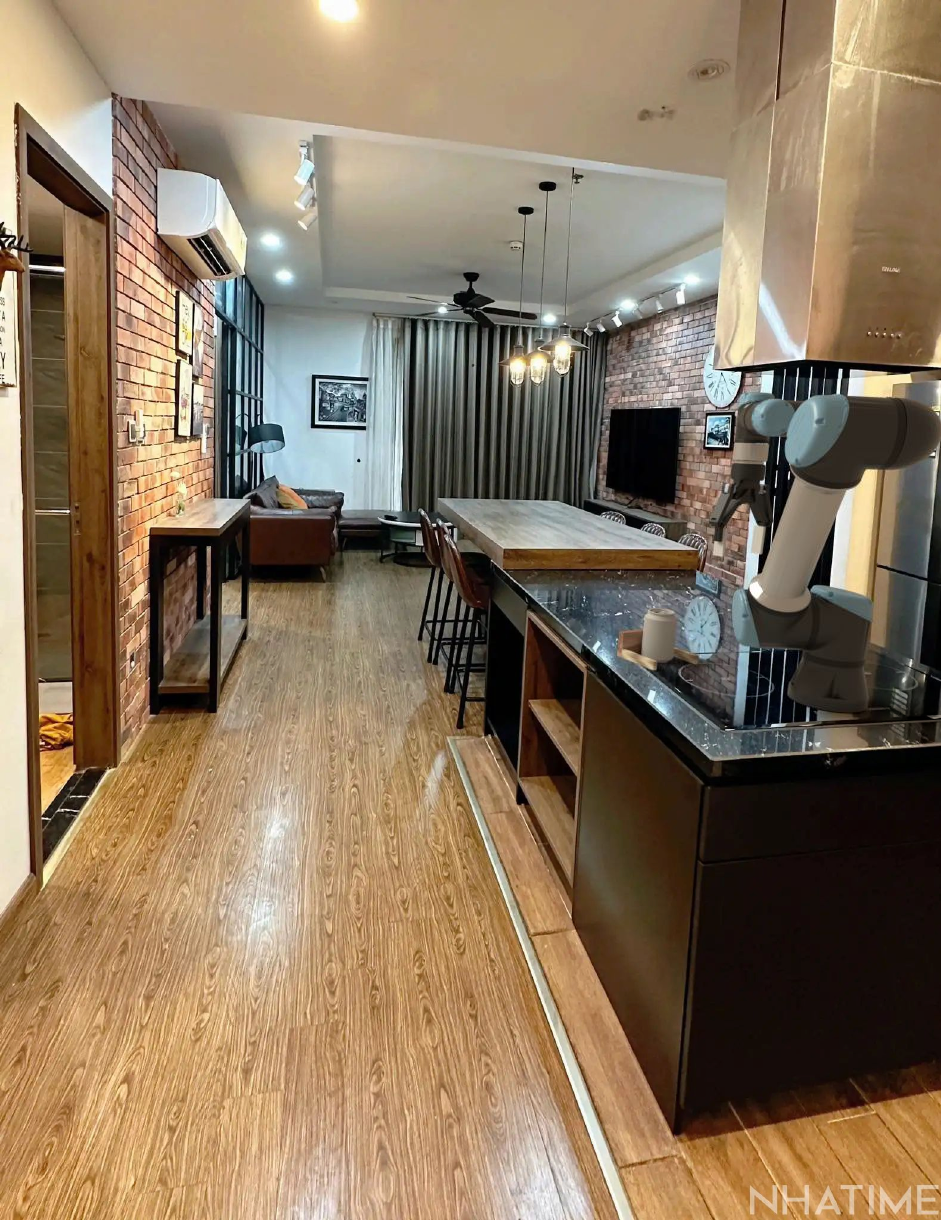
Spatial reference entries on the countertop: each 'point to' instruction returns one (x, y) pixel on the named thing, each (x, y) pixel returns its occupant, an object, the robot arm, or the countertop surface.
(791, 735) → the countertop surface
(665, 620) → the can
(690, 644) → the countertop surface
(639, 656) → the wooden bracket
